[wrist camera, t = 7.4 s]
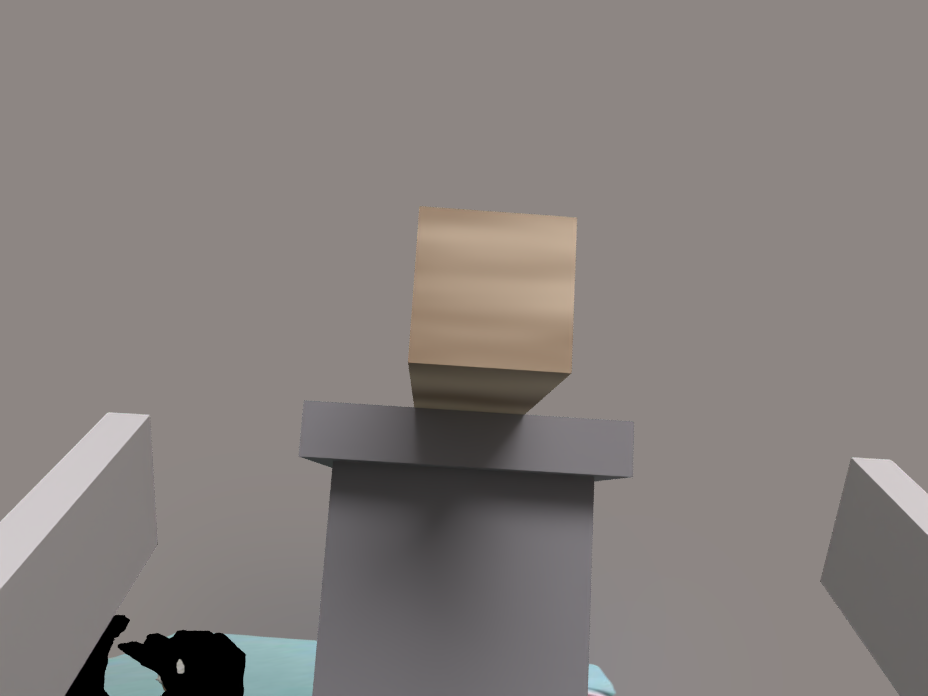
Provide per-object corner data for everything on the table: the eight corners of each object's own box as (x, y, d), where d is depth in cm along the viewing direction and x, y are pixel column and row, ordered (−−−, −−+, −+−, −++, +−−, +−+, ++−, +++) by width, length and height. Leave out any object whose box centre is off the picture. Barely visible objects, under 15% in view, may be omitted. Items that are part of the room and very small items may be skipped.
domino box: (418, 439, 46) (423, 367, 46) (490, 443, 46) (494, 372, 47) (408, 362, 20) (419, 206, 21) (571, 373, 20) (577, 217, 21)
